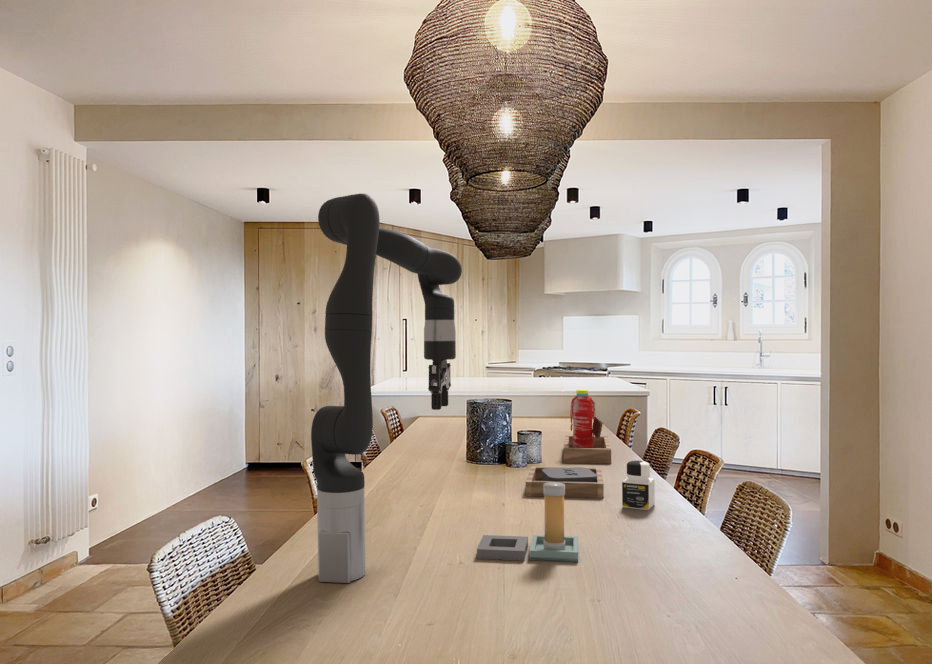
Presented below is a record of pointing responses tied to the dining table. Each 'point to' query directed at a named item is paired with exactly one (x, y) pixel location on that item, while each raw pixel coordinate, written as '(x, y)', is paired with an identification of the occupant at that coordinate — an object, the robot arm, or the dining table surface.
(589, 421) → the water bottle
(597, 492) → the square wooden tray
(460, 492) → the dining table surface
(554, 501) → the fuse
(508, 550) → the frame
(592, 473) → the streaming box
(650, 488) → the medicine bottle
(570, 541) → the parts tray
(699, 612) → the dining table surface
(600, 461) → the bottle rack
